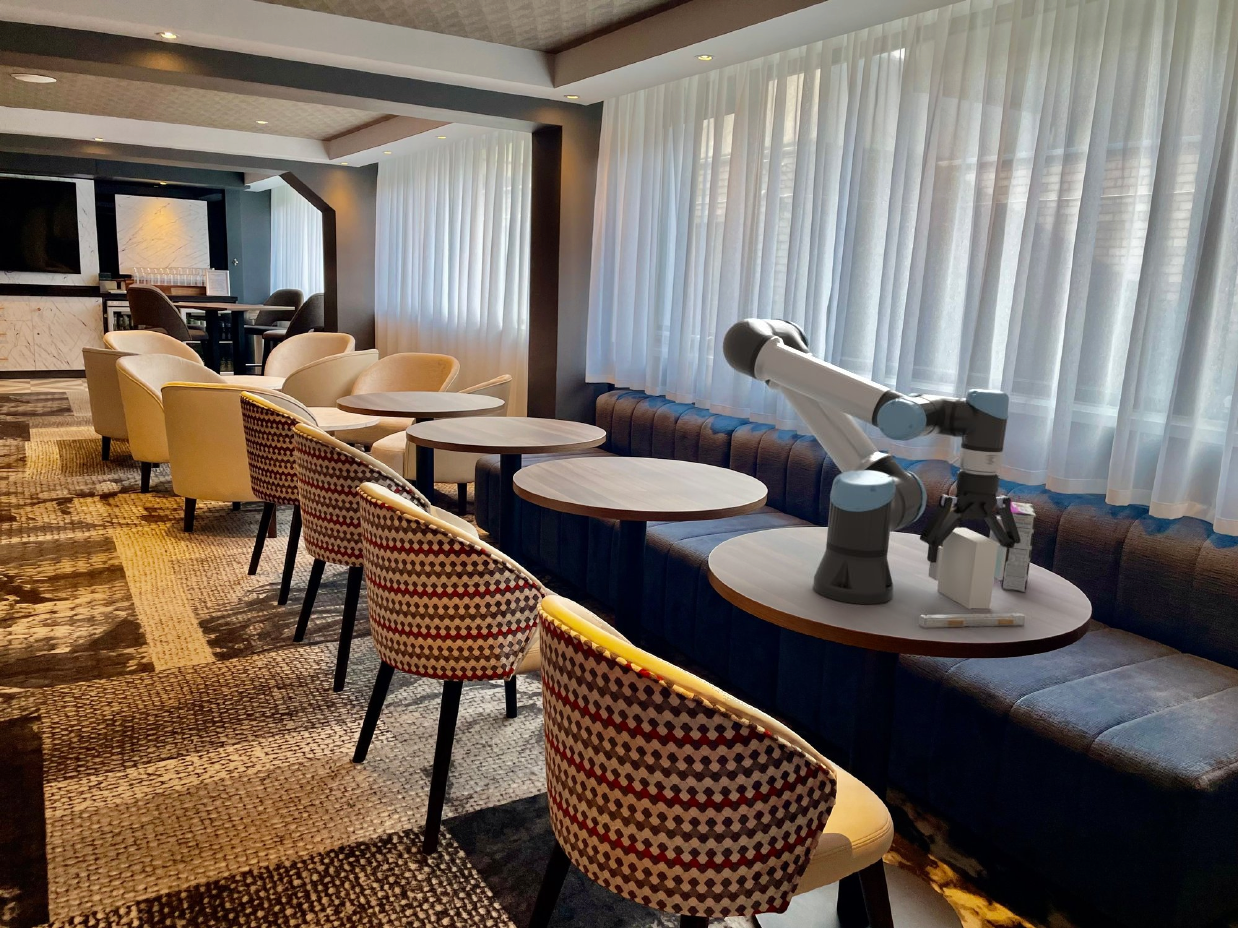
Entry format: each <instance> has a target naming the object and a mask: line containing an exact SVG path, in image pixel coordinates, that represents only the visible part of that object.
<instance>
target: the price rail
mask: <svg viewBox="0 0 1238 928" xmlns="http://www.w3.org/2000/svg"><path fill="white" fill-rule="evenodd" d="M1025 621H1026V615H1024V614H1022V613H1021V612H1013V613H1011V612H1010V613H1009V612H1007V613H1002V612H1000V613H965V614H963V613H960V614H959V613H958V614H957V613H954V614H951V613H950V614H920V615H919V621H918V622H919V623H918V625H919V627H922V628H923V629H924V628H925V629H928V628H965V627H964V626H970V627H969V628H971V626H979V627H1014V626H1016V627H1017V626H1018V627H1019V626H1021V627H1023V626H1025Z"/></svg>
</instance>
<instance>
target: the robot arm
mask: <svg viewBox="0 0 1238 928" xmlns="http://www.w3.org/2000/svg"><path fill="white" fill-rule="evenodd" d="M724 335H725V336H724V338H723V341H722V352H723V353H722V354H723V356H724V359H725V361H726V362H727V364H728V365H729V366H730V367H731V368H732V369H733V370H735V371H737V372H738V373H741V374H743V375H745V376H748V377H749V378H752V379H754V380H757V381H760V382H764V383H765V384H766V385H767V387H768V388H769V389H770V390H772V391H780V392H781V394H782V396H784V398H786V400H787V401H788V403H789V404H790V405H791V407H792V408H793V410H794V411H795V412H796V413H797V414H798V417H799V418H800V419H801V420H802V421H803V423H804V424H805V426H807V428H808V430H810V432H811V433H812V435H813V436H814V437H815V439H816V440H817V441H818V442H819V444H820V445H821V446H822V448H823V450H824V451H825V452H826V453H827V454H828V456H829V457H830V459H831V460H832V461H833V462H834V464H835V465H836V466H837V468H838V469H839V471H841V473H839V474H838V475H837V476H835V478H834V480H833V482H832V487H831V491H830V494H829V499H830V501H829V512H828V513H829V514H828V524H827V535H826V544H825V546H826V547H825V550H824V551H825V552H824V553H823V556H822V558H821V560H820V562H819V564H818V567H817V569H816V571H815V573H814V576H813V584H812V588H813V590H814V591H815V592H816V593H817V594H819V595H821V596H824V597H826V598H828V599H831V600H835V601H840V602H845V603H852V604H857V605H858V604H860V605H877V604H883V603H886V602H890V601H891V600H892V599H893V593H894V583H893V579H892V573H891V571H890V566H889V560H888V552H889V546H890V545H889V544H890V543H889V542H890V536H891V535H890V534H891V533H892V532H895V531H897V530H901V529H904V528H907V527H909V526H911V524H913V523H914V522H916V521H917V520H919V518H920V517H921V516H922V514H923V513H924V511H925V509H926V506H927V505H926V504H927V500H928V499H927V490H926V488H925V484H924V482H923V481H922V480H921V479H920V477H919V476H918V475H916V474H915V473H913V472H912V471H909V470H907V469H903V467H901V465H900V464H899V463H898V462H897V461H896V460H895V458H894V457H893V456H892V455H891V454H890V453H883V452H881V451H879V450H878V449H877V447H876V446H875V445H874V443H873V442H872V441H871V439H870V438H869V437H868V436H867V435H866V433H865V432H864V431H863V429H862V428H861V427H860V425H859V424H858V423H857V422H856V420H855V419H857V420H860V421H863V422H865V423H867V424H869V425H871V426H874V427H876V428H878V429H879V430H880V432H881V433H882V435H884V436H885V437H886V438H888V439H890V440H894V441H902V442H903V441H909V440H913V439H916V438H921V437H926V436H930V435H938V436H939V435H940V436H948V437H954V438H961V443H960V452H959V459H958V467H959V470H958V471H957V475H956V476H957V477H956V485H955V488H956V494H955V495H954V496H950V495H947V494H945V493H944V494H941V495H939V496H940V497H939V500H938V505H937V507H936V508H935V510H934V512H933V513H932V515H931V517H930V518H929V520H928V522H927V524H926V525H925V527H924V529H923V530H922V532H921V534H920V536H919V540H920V541H922V542H924V543H925V544H927V545H928V549H927V557H926V559H927V561H928V562H929V568H928V569H929V570H928V577H929V578H931V579H932V580H934V581H939V580H940V572H941V563H942V555H943V547H941V546H940V545H941V544H942V542H943V541H944V540H945V539H946V538H947V537H948V536H949V535H950V534H951V533H952V531H953V530H954V529H955V528H956V527H957V526H958V525H960V524H961V523H963V522H965V521H966V520H969V521H970V520H971V521H972V520H980V521H981V520H984V521H985V523H986V524H987V526H988V527H989V529H991V530H992V532H993V533H994V535H995V536H996V538H997V540H998V541H999V543H1000V544H998V550H997V558H996V566H995V573H994V579H996V580H998V581H999V580H1000V581H1001V580H1003V572H1004V565H1005V562H1007V561H1008V558H1009V550H1010V548H1013V547H1014V544H1015V543H1017V544H1018V543H1020V541H1021V539H1020V536H1019V533H1018V530H1017V527H1016V524H1015V520H1014V517H1013V514H1012V511H1011V502H1012V499H1011V497H1009V496H1006V495H1004V494H999V495H998V496H997V493H998V491H999V485H1000V478H1001V477H1000V475H999V474H998V473H999V472H1001V468H1002V461H1003V452H1004V443H1005V438H1006V431H1007V425H1008V420H1009V402H1010V397H1009V395H1008V393H1006V392H1004V391H1001V390H993V389H982V388H981V389H980V388H979V389H978V388H977V389H976V388H974V389H969V390H968V391H967V394H966V396H965V398H964V397H962V398H961V397H960V398H958V397H950V396H942V395H934V394H929V393H908V394H907V395H905V394H903V393H900V392H899V391H895V390H893V389H891V388H889V387H887V386H884V385H881V384H879V383H877V382H874V381H872V380H870V379H868V378H865V377H862V376H859V375H858V374H855V373H853V372H849V371H848V370H845V369H843V368H841V367H838V366H836V365H833V364H831V363H829V362H825V361H824V360H821V359H819V358H816V357H815V356H814V354H812V352H811V351H810V350H809V345H810V343H809V339H808V337H807V334H806V333H805V331H804V330H803V329H802V328H801V327H800V326H799V325H798V324H796V323H794V322H793V321H790V320H789V321H788V320H786V319H782V318H771V319H765V318H764V319H763V318H762V319H761V318H744V319H742V320H739V321H737V322H735V323H734V324H732V325H731V327H729V329H728V330H727V332H726V333H725V334H724ZM854 418H855V419H854ZM954 506H955V507H954ZM995 507H997V509H998V513H999V514H998V515H1000V517H1001V520H1002V523H1003V526H1004V529H1005V531H1004V529H1003V528H1002V526H1001V525H1000V523H999V522H998V520H997V517H996V515H997V514H996V513H995V512H994V511H993V509H994V508H995ZM951 508H954V509H953V510H952V512H951V513H950V516H949V517H948V518H947V519H946V520H945V518H946V517H947V515H948V513H949V511H950V509H951ZM959 513H960V515H959ZM944 520H945V521H944ZM943 522H944V523H943ZM942 523H943V524H942Z"/></svg>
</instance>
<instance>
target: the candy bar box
mask: <svg viewBox="0 0 1238 928" xmlns="http://www.w3.org/2000/svg"><path fill="white" fill-rule="evenodd" d="M1011 511H1012V514H1013V517H1014V520H1015V524H1016V527H1017V530H1018V533H1019V536H1020V539H1021V541H1020V543H1018V544H1017V543H1015V544H1014V547H1013V548H1010V550H1009V558H1008V561H1007V562H1005V565H1004V572H1003V580H1000V585H1001V590H1006V591H1007V590H1008V591H1012V590H1013V592H1021V593H1026V592H1027V585H1028V578H1029V572H1030V564H1031V557H1032V549H1033V540H1034V532H1035V523H1036V517H1037V515H1036V512H1035V509H1034V505H1033V503H1032V504H1031V503H1024V502H1016V501H1011Z"/></svg>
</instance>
